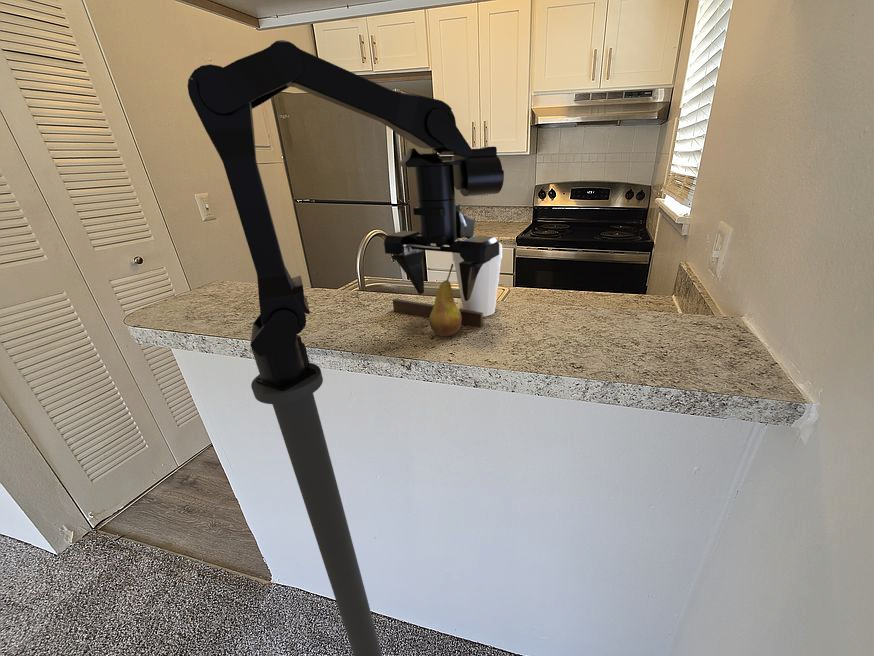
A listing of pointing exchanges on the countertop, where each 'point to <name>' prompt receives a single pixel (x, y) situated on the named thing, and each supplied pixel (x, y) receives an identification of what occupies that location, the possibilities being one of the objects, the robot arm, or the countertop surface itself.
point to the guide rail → (426, 309)
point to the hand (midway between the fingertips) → (443, 296)
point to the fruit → (445, 311)
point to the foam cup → (481, 285)
